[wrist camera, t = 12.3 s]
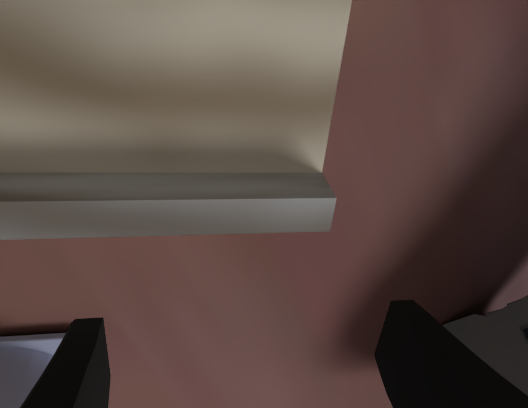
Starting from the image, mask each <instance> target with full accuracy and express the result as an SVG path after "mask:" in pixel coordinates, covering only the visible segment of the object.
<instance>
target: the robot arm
mask: <svg viewBox="0 0 528 408" xmlns="http://www.w3.org/2000/svg"><path fill="white" fill-rule="evenodd" d="M374 355H375V358H376V362H377V365H378V368H379V372H380V375H381V378H382V381H383V384H384V387H385V390H386V393H387V395H388V397H389V399H390V402H391V404H392V406H393V408H528V396H527V395H526V394H525V393H523V392H522V391H521V390H519V389H518V388H517V387H516V386H514V385H513V384H512V383H510V382H509V381H508V380H506V379H505V378H504V377H503V376H501V375H500V374H499V373H498V372H496V371H495V370H494V369H493V368H491V367H490V366H489V365H488V364H487V363H485V362H484V361H483V360H482V359H481V358H479V357H478V356H477V355H476V354H475V353H473V352H472V351H471V350H470V349H469V348H468V347H466V346H465V345H464V344H463V343H462V342H461V341H460V340H458V339H457V338H456V337H455V336H454V335H453V334H452V333H450V332H449V331H448V330H447V329H446V328H445V327H444V326H442V325H441V324H440V323H439V322H438V321H437V320H436V319H434V318H433V317H432V316H431V315H430V314H429V313H428V312H426V311H425V310H424V309H423V308H422V307H421V306H419V305H418V304H417V303H416V302H415V301H413V300H400V301H391V303H390V306H389V309H388V313H387V316H386V319H385V322H384V325H383V328H382V332H381V335H380V338H379V341H378V344H377V348H376V351H375V354H374ZM109 389H110V368H109V360H108V352H107V344H106V336H105V328H104V320H103V318H87V319H75V320H74V321H73V322H72V323H71V324H70V326H69V328H68V330H67V332H66V333H54V334H38V335H22V336H6V337H0V408H108V401H109Z"/></svg>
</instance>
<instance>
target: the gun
mask: <svg viewBox="0 0 528 408" xmlns="http://www.w3.org/2000/svg"><path fill="white" fill-rule="evenodd" d="M485 315H486V316H482V315H477V314H473V315H470V316H467V317H464V318H461V319H458V320H455V321H452V322H450V323H447V324H444V325H442V326H444V327H445V328H446V329H447V330H448V331H449V332H450V333H452V334H453V335H454V336H455V337H456V338H457V339H458V340H460V341H461V342H462V343H463V344H464V345H465V346H466V347H468V348H469V349H470V350H471V351H472V352H473V353H475V354H476V355H477V356H478V357H479V358H481V359H482V360H483V361H484V362H485V363H487V364H488V365H489V366H490V367H491V368H493V369H494V370H495V371H496V372H498V373H499V374H500V375H501V376H503V377H504V378H505V379H506V380H508V381H509V382H510V383H512V384H513V385H514V386H516V387H517V388H518V389H519V390H521V391H522V392H523V393H525V394H526V395H527V396H528V295H527V296H525V297H524V298H522V299H519V300H517V301H514V302H511V303H508V304H507V306H506V307H504V308H502V309H500V310H496V311H492V312H488V313H485Z"/></svg>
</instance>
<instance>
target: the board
mask: <svg viewBox="0 0 528 408" xmlns="http://www.w3.org/2000/svg"><path fill="white" fill-rule="evenodd" d="M351 3H352V0H0V240H9V239H48V238H87V237H126V236H165V235H204V234H243V233H282V232H321V231H330V229H331V224H332V219H333V214H334V209H335V204H336V199H337V198H336V196H335V194H334V193H333V191H332V189H331V187H330V186H329V184H328V182H327V181H326V179H325V177H324V175H323V174H322V169H323V163H324V157H325V152H326V146H327V140H328V134H329V129H330V123H331V117H332V112H333V106H334V100H335V94H336V89H337V83H338V77H339V71H340V66H341V60H342V54H343V48H344V43H345V37H346V31H347V26H348V20H349V14H350V8H351Z"/></svg>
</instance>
